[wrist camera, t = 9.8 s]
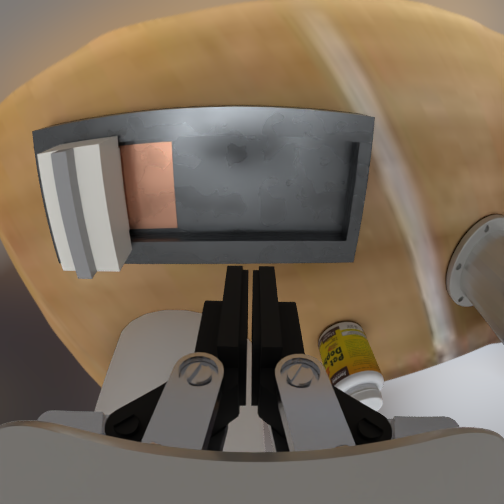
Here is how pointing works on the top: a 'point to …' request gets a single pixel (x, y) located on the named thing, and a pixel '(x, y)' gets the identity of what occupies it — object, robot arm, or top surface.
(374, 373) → the supplement bottle
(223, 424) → the robot arm
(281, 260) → the dark grey tray
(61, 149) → the slider knob
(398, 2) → the top surface
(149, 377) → the cylinder
